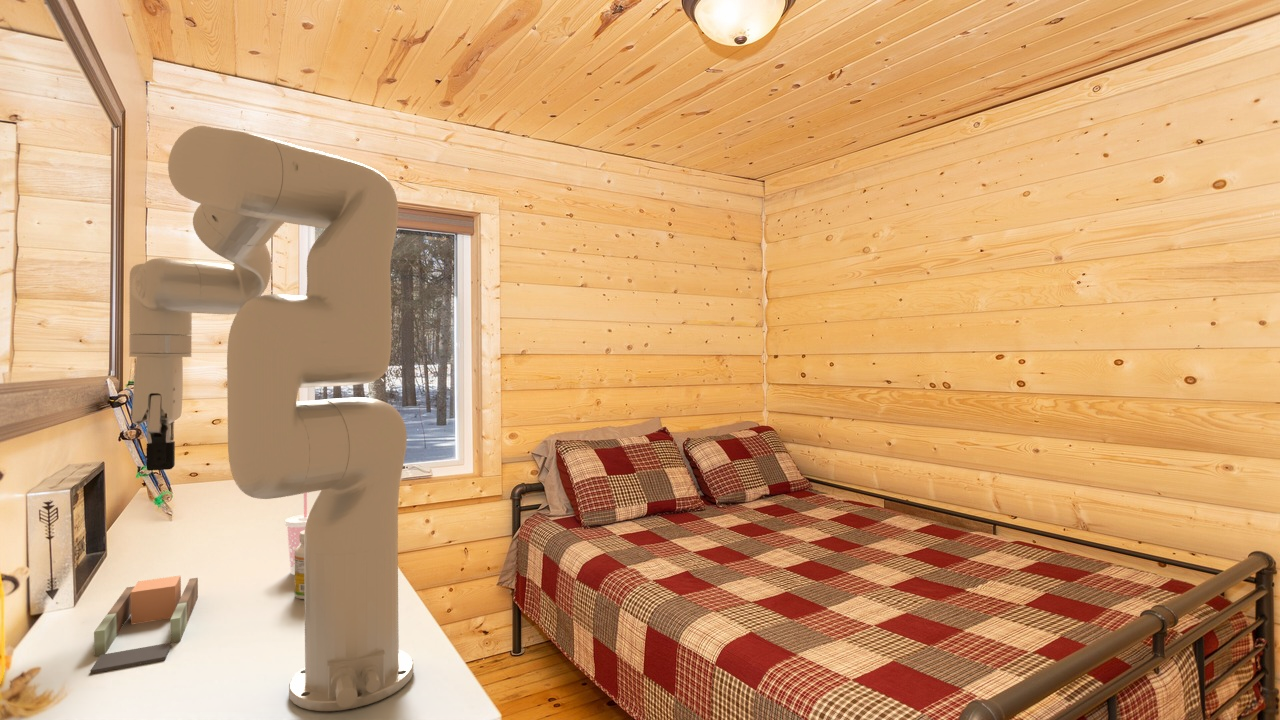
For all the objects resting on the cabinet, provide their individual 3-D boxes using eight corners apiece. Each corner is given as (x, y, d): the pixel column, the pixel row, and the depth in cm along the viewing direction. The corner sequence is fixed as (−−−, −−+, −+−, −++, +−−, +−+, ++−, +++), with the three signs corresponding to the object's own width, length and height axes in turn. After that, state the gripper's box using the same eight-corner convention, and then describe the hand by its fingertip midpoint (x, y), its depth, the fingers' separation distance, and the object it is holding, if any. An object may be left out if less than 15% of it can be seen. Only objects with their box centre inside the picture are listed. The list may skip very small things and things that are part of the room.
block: (175, 617, 91) (175, 585, 91) (131, 625, 89) (130, 592, 89) (181, 606, 96) (180, 575, 95) (138, 612, 93) (138, 581, 93)
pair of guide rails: (180, 641, 83) (179, 617, 83) (94, 656, 79) (94, 631, 79) (197, 597, 99) (197, 577, 99) (126, 608, 95) (126, 587, 94)
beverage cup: (325, 573, 109) (325, 490, 109) (284, 578, 107) (283, 493, 107) (325, 562, 115) (325, 484, 115) (286, 568, 112) (285, 487, 112)
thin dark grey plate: (165, 660, 78) (165, 656, 78) (90, 673, 75) (90, 670, 75) (171, 645, 82) (171, 642, 82) (100, 658, 79) (100, 654, 79)
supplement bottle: (326, 585, 104) (326, 524, 104) (339, 593, 100) (338, 530, 100) (290, 593, 100) (289, 530, 100) (301, 603, 96) (300, 537, 96)
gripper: (140, 346, 102) (139, 462, 102) (117, 347, 89) (117, 480, 89) (197, 347, 106) (197, 459, 106) (184, 347, 93) (183, 476, 93)
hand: (160, 468), depth 98 cm, fingers closed
